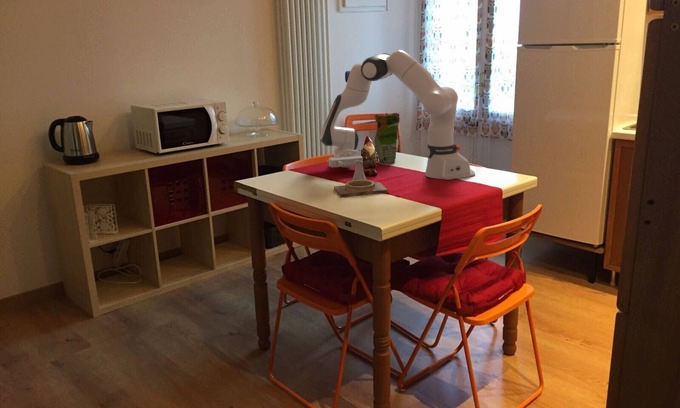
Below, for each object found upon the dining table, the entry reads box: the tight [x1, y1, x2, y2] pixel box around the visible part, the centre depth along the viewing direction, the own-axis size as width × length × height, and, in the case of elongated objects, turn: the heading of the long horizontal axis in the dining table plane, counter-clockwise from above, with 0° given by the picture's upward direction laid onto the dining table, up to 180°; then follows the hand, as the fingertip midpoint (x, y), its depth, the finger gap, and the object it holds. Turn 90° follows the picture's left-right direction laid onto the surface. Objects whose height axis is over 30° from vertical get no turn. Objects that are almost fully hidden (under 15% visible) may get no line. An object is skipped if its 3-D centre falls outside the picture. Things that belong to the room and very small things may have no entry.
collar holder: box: [333, 179, 388, 199], centre depth 244 cm, size 20×13×4 cm, turn 102°
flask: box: [351, 160, 368, 181], centre depth 257 cm, size 7×7×10 cm
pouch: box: [373, 112, 401, 165], centre depth 292 cm, size 11×12×25 cm
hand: (353, 164), depth 267 cm, fingers open, 8 cm apart
